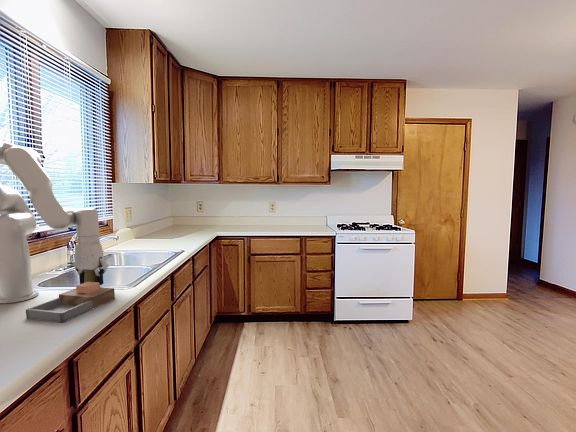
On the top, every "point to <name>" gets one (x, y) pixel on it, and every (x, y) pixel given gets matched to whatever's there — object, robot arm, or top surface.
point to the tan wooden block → (88, 297)
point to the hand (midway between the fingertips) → (91, 284)
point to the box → (57, 311)
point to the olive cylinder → (89, 276)
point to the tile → (87, 287)
